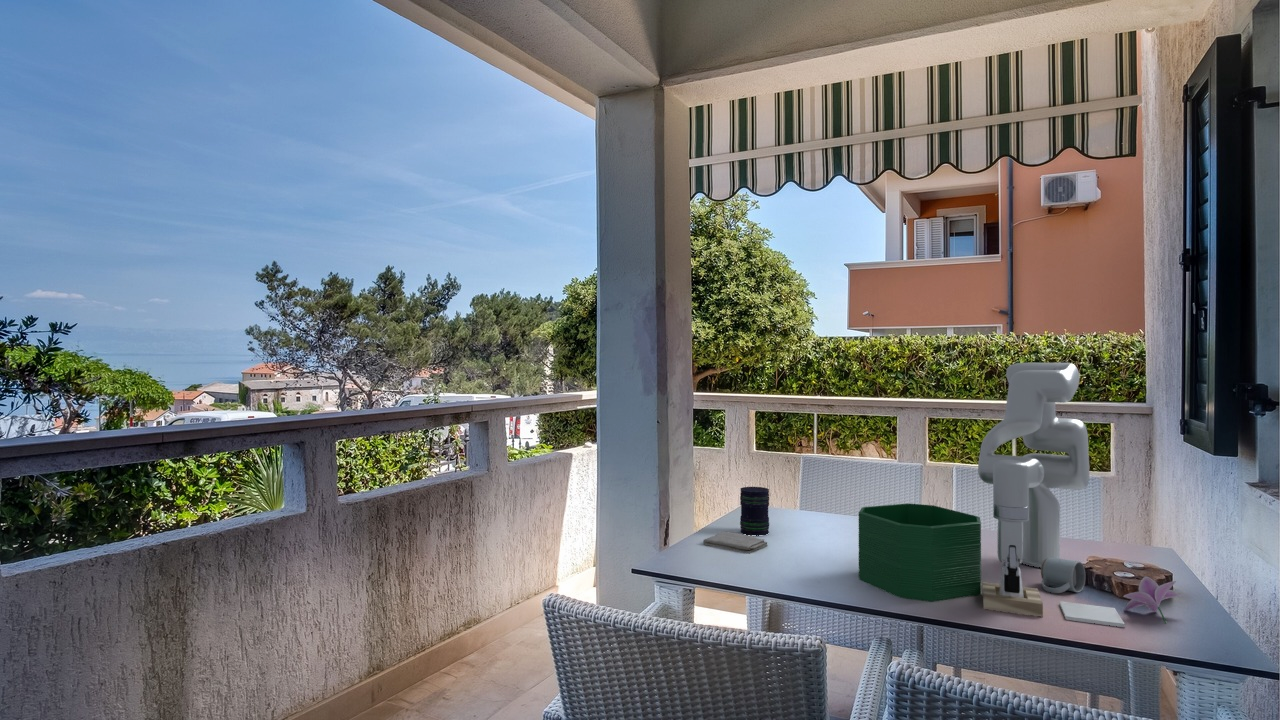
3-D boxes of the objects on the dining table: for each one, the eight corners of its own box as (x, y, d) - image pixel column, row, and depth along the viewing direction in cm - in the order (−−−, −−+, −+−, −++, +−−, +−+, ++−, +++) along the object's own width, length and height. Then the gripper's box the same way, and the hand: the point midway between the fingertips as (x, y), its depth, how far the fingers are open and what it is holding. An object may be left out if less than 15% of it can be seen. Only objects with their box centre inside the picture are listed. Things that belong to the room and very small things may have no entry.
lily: (1192, 623, 156) (1172, 579, 161) (1198, 617, 147) (1177, 571, 152) (1131, 631, 161) (1114, 588, 166) (1133, 626, 152) (1115, 581, 156)
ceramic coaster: (1059, 604, 165) (1059, 601, 165) (1114, 611, 160) (1114, 608, 160) (1065, 619, 155) (1065, 616, 155) (1124, 627, 150) (1124, 623, 150)
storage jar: (757, 537, 229) (757, 492, 229) (734, 532, 236) (734, 488, 236) (775, 533, 236) (775, 489, 236) (752, 528, 243) (752, 485, 243)
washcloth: (751, 555, 209) (751, 545, 209) (701, 546, 220) (701, 536, 220) (769, 547, 218) (769, 538, 218) (720, 539, 229) (720, 529, 229)
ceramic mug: (1052, 581, 183) (1051, 552, 183) (1086, 589, 176) (1086, 559, 176) (1033, 589, 176) (1032, 559, 176) (1068, 598, 170) (1067, 567, 170)
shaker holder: (982, 594, 172) (982, 582, 172) (1037, 601, 167) (1037, 588, 167) (983, 609, 161) (983, 596, 161) (1042, 617, 156) (1042, 603, 156)
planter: (846, 574, 189) (846, 507, 189) (921, 565, 198) (921, 501, 198) (915, 605, 165) (914, 528, 165) (997, 592, 174) (996, 520, 174)
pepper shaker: (1024, 600, 165) (1024, 554, 166) (1024, 607, 161) (1023, 560, 161) (999, 597, 168) (999, 551, 168) (997, 603, 164) (997, 557, 164)
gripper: (991, 504, 174) (992, 577, 174) (994, 518, 159) (995, 597, 159) (1026, 506, 171) (1026, 581, 171) (1032, 521, 155) (1032, 602, 155)
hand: (1011, 588), depth 165 cm, fingers closed on pepper shaker, 4 cm apart
